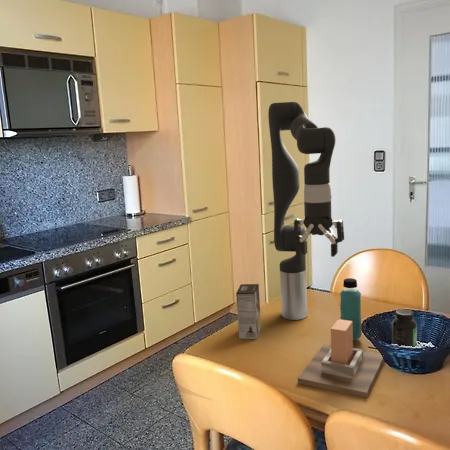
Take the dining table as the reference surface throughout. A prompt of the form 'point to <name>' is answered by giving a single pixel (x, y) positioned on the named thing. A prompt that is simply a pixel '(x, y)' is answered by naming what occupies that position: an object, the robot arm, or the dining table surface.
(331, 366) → the keyed holder
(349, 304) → the beverage bottle
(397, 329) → the supplement bottle
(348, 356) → the keyed peg
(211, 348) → the dining table surface
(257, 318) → the coffee box
